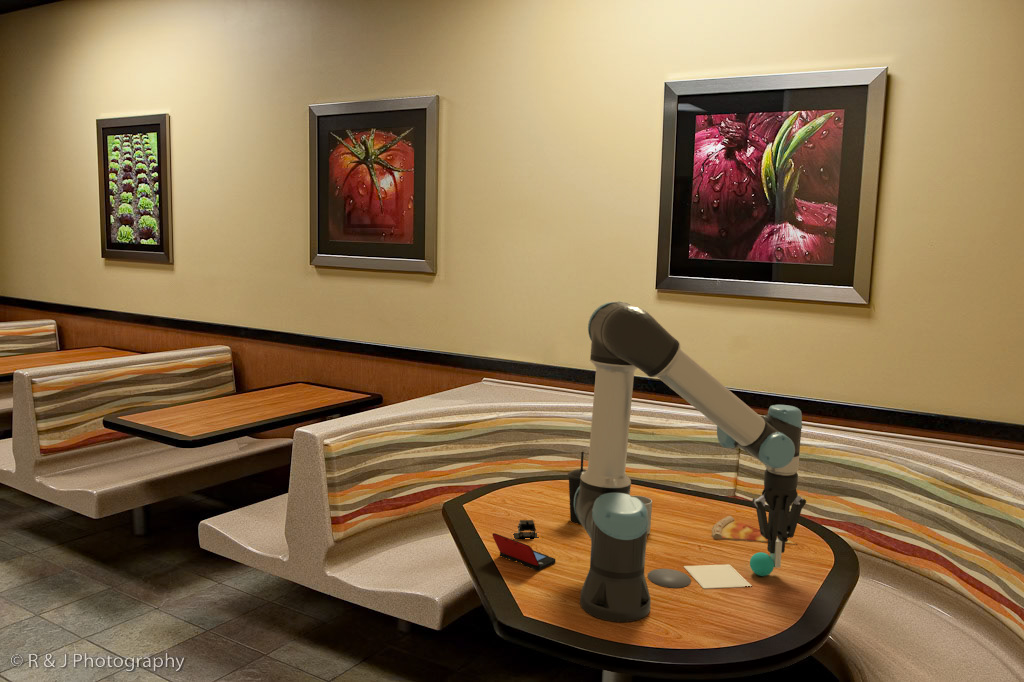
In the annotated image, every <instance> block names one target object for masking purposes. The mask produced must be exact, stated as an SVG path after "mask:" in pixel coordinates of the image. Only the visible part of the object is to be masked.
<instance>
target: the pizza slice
mask: <svg viewBox="0 0 1024 682" xmlns="http://www.w3.org/2000/svg"><path fill="white" fill-rule="evenodd" d="M712 537H713V538H714V540H725V539H729V540H728V541H739V540H745V541H744V542H753V541H761V542H760V543H767V542H768V539H766V538H765V537H763V536H762V535H761V534H760V528H757V527H756V528H755V527H754V526H751V525H747V524H745V523H742V522H739V521H736V520H735V517H733V516H731V515H728V516H725V517H724V518H722V519H721V518H720V520H718V521H717V522H716V523H715V524H714V525H712V528H711V538H712ZM713 538H712V539H713ZM777 538H778V536H777ZM746 540H747V541H746ZM785 543H796V542H795V541H793V540H789V539H788V541H787V542H785Z"/></svg>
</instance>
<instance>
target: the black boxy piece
mask: <svg viewBox="0 0 1024 682" xmlns="http://www.w3.org/2000/svg"><path fill="white" fill-rule="evenodd" d="M535 525H536V524H535V522H534V520H533V519H520V520H519V523H518V525H517V529H518V530H517V532H513V533H514V534H513V535H514V538H515V539H525V538H530V539H534V538H539V537H537V533H538V532H536V531H537V528H536V526H535Z"/></svg>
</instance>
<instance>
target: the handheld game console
mask: <svg viewBox="0 0 1024 682" xmlns="http://www.w3.org/2000/svg"><path fill="white" fill-rule="evenodd" d="M491 536H492V538H493V540H494V542H495V545H496V546H497V548H498V551H499V557H500V556H502V557H501V558H503V557H504V558H503V559H506V558H507V559H506V560H508V559H510V560H509V561H511V562H513V561H517V562H516V563H519V564H521V563H522V564H523V565H522V564H521V565H522V566H523V567H526V568H528V567H529V569H531V570H533V571H536V572H539V571H541V570H544V569H546V568H548V567H550V566H552V565H554V564H555V563H556V558H554V557H552V556H549V555H547V554H544V553H542V552H539V551H536V550H534V549H533V548H532V547H531V546H530V545H529V544H526V543H523V542H520V541H519V540H512V538H509V537H506V536H504V535H501V534H498V533H496V532H495V533H492V535H491Z"/></svg>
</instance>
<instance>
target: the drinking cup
mask: <svg viewBox="0 0 1024 682" xmlns="http://www.w3.org/2000/svg"><path fill="white" fill-rule="evenodd" d="M584 454H585V453H584V451H581V454H580V468H575V469H573V470H570V471H568V472H567V476H568V495H569V516H570V517H569V520H571V521H572V522H573V524H575V523H578V524H577V525H582V524H581V523H580V522H579V520H578V518H577V516H576V514H575V510H574V496H575V493H576V491H577V489H578V487H579V486H580V477H581V474H583V473H584V472H585V471H586V470H587V469H584V459H585V458H584V456H585V455H584ZM571 521H570V522H571ZM572 522H571V523H572Z"/></svg>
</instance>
